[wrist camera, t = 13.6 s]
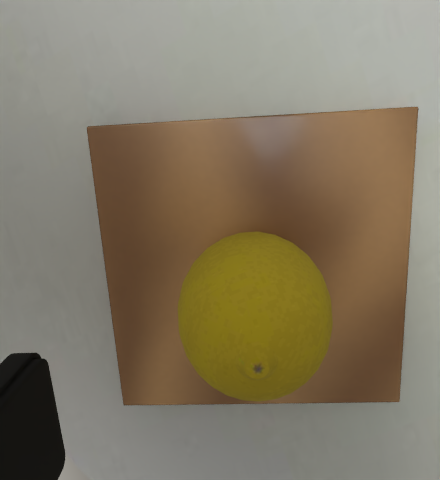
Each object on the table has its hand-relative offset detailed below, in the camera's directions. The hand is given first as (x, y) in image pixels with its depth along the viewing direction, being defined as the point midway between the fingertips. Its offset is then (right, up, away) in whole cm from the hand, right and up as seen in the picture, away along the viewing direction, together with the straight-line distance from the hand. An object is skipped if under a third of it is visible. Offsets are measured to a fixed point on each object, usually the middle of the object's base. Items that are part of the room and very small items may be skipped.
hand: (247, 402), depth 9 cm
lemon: (+1, +2, +10) cm, 10 cm away
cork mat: (+1, +2, +10) cm, 11 cm away
